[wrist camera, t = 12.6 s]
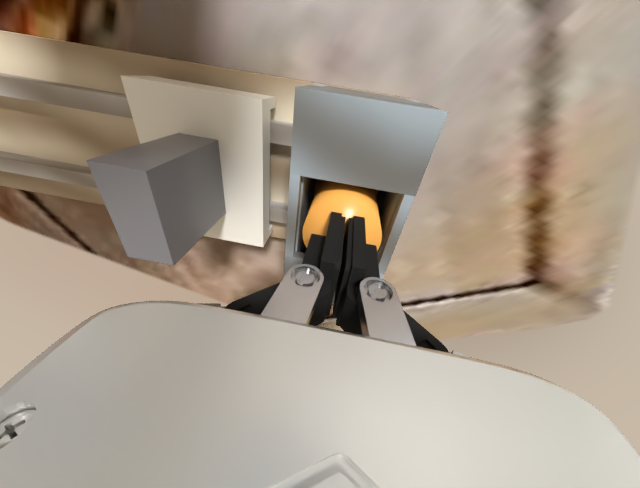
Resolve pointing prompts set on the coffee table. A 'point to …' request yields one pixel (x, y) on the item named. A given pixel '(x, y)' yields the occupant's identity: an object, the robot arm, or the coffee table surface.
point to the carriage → (188, 169)
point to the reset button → (343, 210)
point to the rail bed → (290, 94)
